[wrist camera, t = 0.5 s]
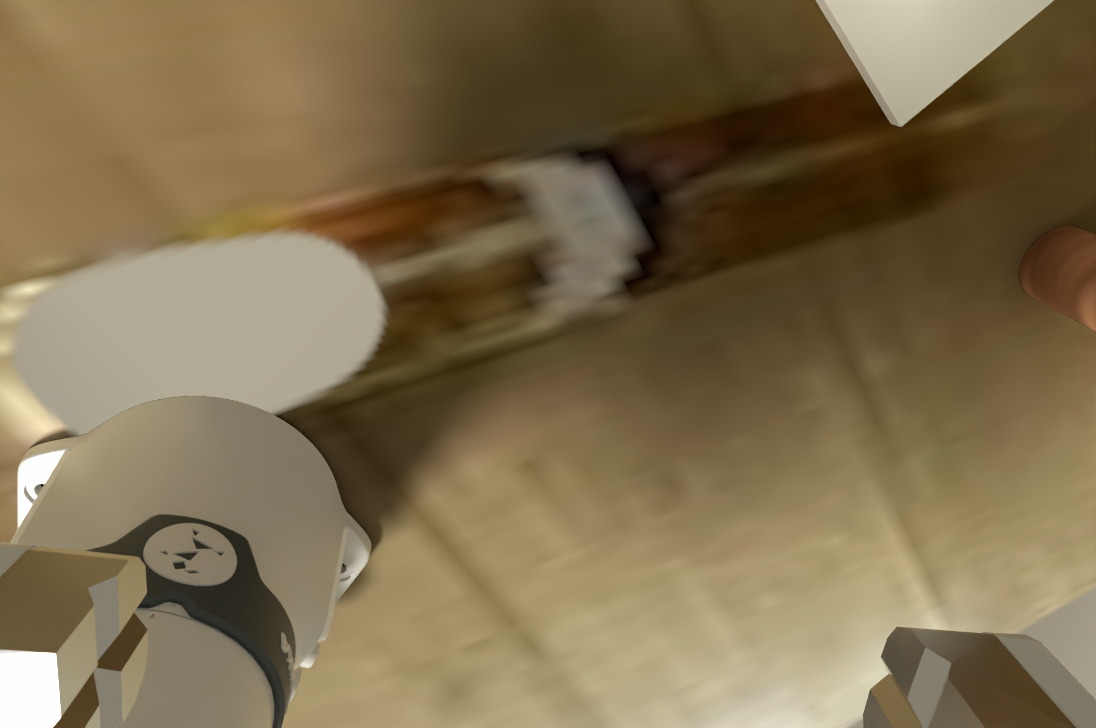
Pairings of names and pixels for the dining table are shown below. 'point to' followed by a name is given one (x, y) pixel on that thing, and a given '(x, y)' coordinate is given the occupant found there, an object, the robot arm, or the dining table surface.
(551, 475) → the dining table surface
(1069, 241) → the peg
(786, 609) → the dining table surface
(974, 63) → the awning socket
